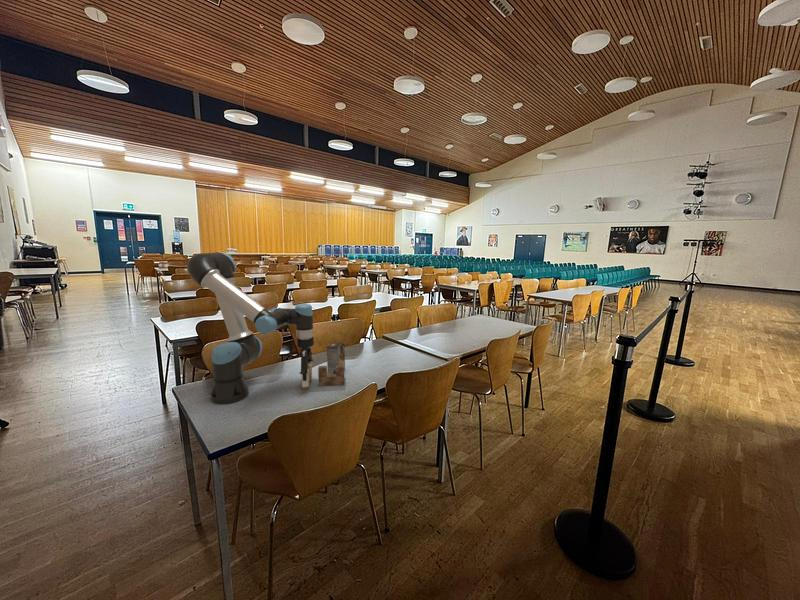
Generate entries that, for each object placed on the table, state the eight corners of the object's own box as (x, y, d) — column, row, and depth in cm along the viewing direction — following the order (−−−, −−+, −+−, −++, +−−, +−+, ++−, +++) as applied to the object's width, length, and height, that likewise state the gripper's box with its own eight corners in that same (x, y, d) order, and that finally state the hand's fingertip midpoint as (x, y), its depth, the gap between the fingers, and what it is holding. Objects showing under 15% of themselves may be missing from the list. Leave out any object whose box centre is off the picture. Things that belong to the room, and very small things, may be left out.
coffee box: (334, 370, 180) (333, 341, 178) (345, 371, 179) (344, 342, 176) (327, 376, 172) (326, 347, 169) (339, 378, 170) (338, 347, 167)
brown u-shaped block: (318, 386, 158) (318, 368, 156) (319, 383, 161) (318, 366, 159) (344, 385, 160) (344, 367, 158) (344, 382, 163) (344, 364, 161)
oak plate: (309, 390, 154) (308, 371, 152) (302, 390, 154) (301, 371, 152) (311, 381, 164) (311, 363, 162) (305, 381, 163) (304, 364, 162)
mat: (300, 394, 152) (300, 392, 152) (305, 381, 165) (305, 379, 165) (345, 392, 155) (345, 390, 154) (345, 379, 168) (345, 377, 168)
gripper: (310, 345, 143) (312, 391, 147) (316, 330, 167) (318, 370, 171) (292, 346, 142) (294, 392, 146) (301, 330, 166) (303, 370, 170)
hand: (307, 380), depth 158 cm, fingers open, 13 cm apart
